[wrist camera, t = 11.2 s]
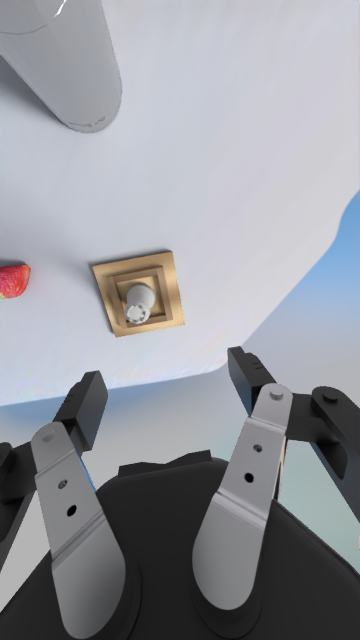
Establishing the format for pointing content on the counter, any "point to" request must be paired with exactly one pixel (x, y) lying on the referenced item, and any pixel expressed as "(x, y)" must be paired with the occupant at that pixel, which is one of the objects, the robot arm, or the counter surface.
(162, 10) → the counter surface
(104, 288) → the display stand
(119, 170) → the counter surface
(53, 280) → the counter surface
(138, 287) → the rook chess piece
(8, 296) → the fruit
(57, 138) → the counter surface
